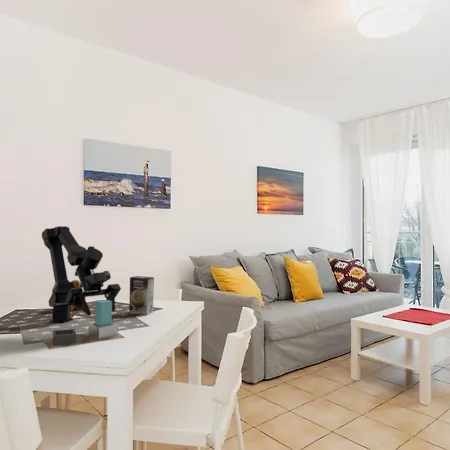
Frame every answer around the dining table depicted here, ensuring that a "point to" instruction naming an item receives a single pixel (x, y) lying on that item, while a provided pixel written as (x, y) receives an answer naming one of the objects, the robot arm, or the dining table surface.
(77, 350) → the dining table surface
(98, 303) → the plug
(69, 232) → the robot arm
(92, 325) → the port
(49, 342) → the panel board
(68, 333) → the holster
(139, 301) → the coffee box
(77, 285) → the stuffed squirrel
